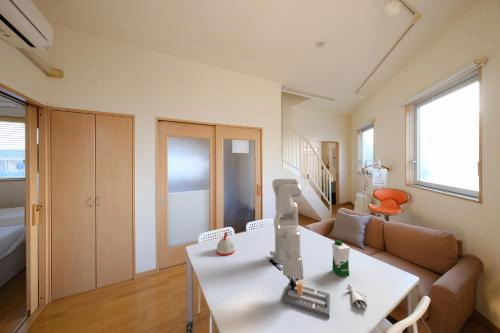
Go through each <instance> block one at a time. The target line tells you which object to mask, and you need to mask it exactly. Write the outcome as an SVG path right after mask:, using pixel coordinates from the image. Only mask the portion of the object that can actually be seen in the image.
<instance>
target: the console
mask: <svg viewBox="0 0 500 333" xmlns="http://www.w3.org/2000/svg"><path fill="white" fill-rule="evenodd" d="M281 303H283V304H285V305H289V306H291V307H295V308H297V309H300V310H304V311H306V312H309V313H313V314H315V315H318V316H321V317H324V318H328V319H330V312H331V311H330V305H331V304H330V303H331V293H328V292H325V291H321V290H317V289H314V288H310V287H306V286H304V285H303V296H302V295H298V294H297V283H296V288H294V290H293V289H291V286H290V281H288V282H287V285H286V288H285V291H284V293H283V296H282V298H281Z"/></svg>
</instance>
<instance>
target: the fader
mask: <svg viewBox="0 0 500 333" xmlns="http://www.w3.org/2000/svg"><path fill="white" fill-rule="evenodd" d="M296 284H297V294H298V295H302V296H303V286H304V281H303V280H298V281H297V282H296Z"/></svg>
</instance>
